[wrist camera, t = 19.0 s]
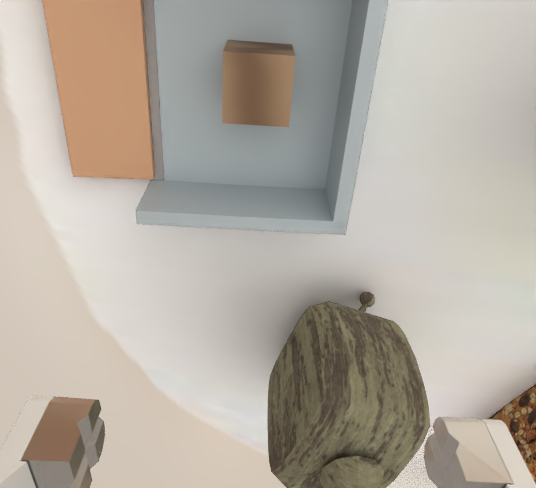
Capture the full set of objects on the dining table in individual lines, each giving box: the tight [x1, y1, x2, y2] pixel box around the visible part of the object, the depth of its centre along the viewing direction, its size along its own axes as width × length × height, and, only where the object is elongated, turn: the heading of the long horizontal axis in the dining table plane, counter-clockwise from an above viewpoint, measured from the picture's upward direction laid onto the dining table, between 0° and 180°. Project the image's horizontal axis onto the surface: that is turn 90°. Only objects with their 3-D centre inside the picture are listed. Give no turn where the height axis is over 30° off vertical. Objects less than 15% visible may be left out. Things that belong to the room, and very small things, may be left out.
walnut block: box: [222, 40, 296, 127], centre depth 35 cm, size 5×5×5 cm
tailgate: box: [42, 0, 155, 179], centre depth 37 cm, size 1×19×7 cm
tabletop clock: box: [268, 292, 430, 488], centre depth 42 cm, size 14×9×25 cm, turn 159°
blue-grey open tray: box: [136, 0, 388, 235], centre depth 35 cm, size 17×22×7 cm
